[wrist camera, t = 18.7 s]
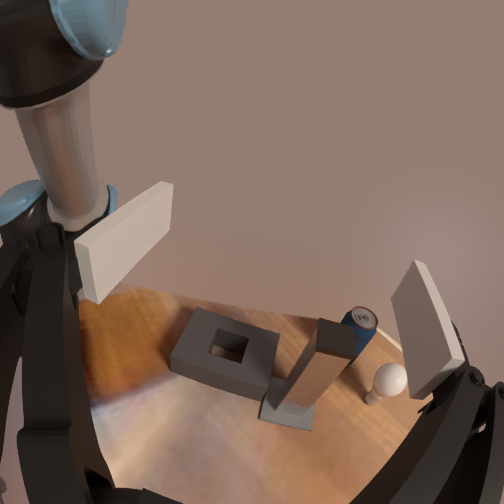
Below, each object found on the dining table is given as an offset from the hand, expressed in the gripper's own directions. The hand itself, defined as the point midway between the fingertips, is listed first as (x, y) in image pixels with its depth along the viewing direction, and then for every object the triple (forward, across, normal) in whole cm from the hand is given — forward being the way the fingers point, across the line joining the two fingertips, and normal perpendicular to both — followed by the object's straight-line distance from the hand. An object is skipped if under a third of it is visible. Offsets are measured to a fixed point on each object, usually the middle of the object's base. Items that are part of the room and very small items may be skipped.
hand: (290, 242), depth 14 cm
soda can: (+26, +19, -36) cm, 48 cm away
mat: (+12, +10, -36) cm, 39 cm away
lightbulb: (+16, +26, -36) cm, 47 cm away
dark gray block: (+17, -3, -36) cm, 40 cm away
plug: (+12, +10, -36) cm, 39 cm away
